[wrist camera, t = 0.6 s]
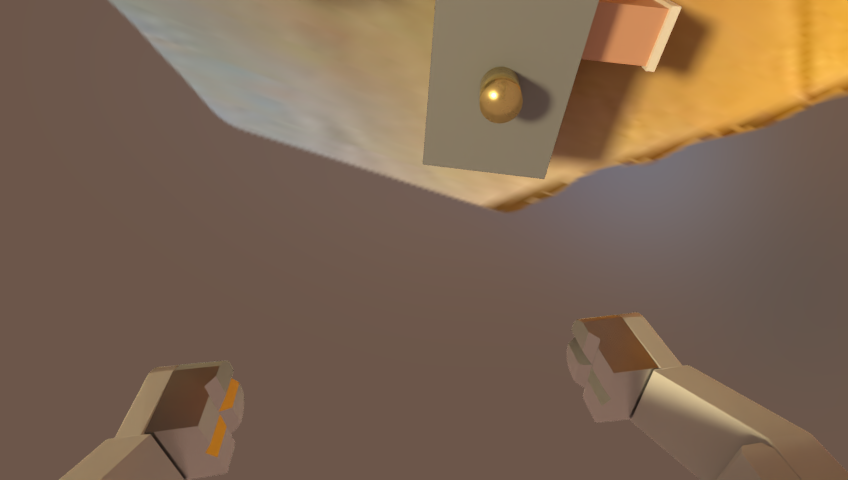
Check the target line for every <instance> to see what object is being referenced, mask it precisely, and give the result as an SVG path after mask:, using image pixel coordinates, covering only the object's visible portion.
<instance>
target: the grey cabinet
mask: <svg viewBox="0 0 848 480" xmlns="http://www.w3.org/2000/svg"><path fill="white" fill-rule="evenodd" d="M598 2H599V0H436V2H435V15H434V28H433V40H432V53H431V66H430V79H429V91H428V104H427V117H426V129H425V142H424V155H423V164H424V165H432V166H440V167H449V168H457V169H465V170H473V171H482V172H490V173H498V174H506V175H515V176H523V177H531V178H539V179H545V175H546V172H547V169H548V165H549V162H550V159H551V156H552V152H553V149H554V146H555V143H556V139H557V136H558V133H559V129H560V126H561V123H562V120H563V116H564V113H565V110H566V107H567V103H568V100H569V97H570V94H571V90H572V87H573V84H574V80H575V77H576V74H577V71H578V67H579V64H580V61H581V58H582V54H583V51H584V48H585V44H586V41H587V38H588V35H589V31H590V28H591V25H592V22H593V18H594V15H595V12H596V8H597V5H598ZM495 67H507V68H510V69H511V70H513V71H514V72H515V73H516V74H517V76H518V78H519V83H520V88H521V93H522V99H523V104H522V108H521V110H520V112H519V114H518V115H517V116H516V117H515V118H514V119H512V120H511V121H509V122H506V123H493V122H491V121H489V120H487V119H486V118H485V117H484V116H483V114H482V113H481V110H480V104H479V103H480V83H481V80H482V78H483V76H484V75H485V74H486V73H487V72H488V71H489V70H491V69H493V68H495Z"/></svg>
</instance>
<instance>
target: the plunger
mask: <svg viewBox="0 0 848 480" xmlns="http://www.w3.org/2000/svg"><path fill="white" fill-rule="evenodd" d="M681 8H682V7H681V6H679V5H678V4H676V3H674V2H672V1H670V0H599V2H598V5H597V8H596V12H595V15H594V18H593V22H592V25H591V28H590V31H589V35H588V38H587V41H586V44H585V48H584V51H583V54H582V58H581V59H583V60H592V61H602V62H611V63H620V64H629V65H638V66H641V67H642V68H643V69H644V70H645V71H651V72H654V71H655V69H656V67H657V64H658V62H659V60H660V57H661V55H662V53H663V50H664V48H665V46H666V43H667V41H668V38H669V36H670V34H671V31H672V29H673V27H674V24H675V22H676V20H677V17H678V15H679V13H680V10H681Z"/></svg>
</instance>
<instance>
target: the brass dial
mask: <svg viewBox="0 0 848 480" xmlns="http://www.w3.org/2000/svg"><path fill="white" fill-rule="evenodd" d="M479 104H480V110H481V113H482V114H483V116H484V117H485V118H486V119H487V120H489V121H491V122H493V123H506V122H509V121H511V120H512V119H514V118H515V117H516V116H517V115H518V114H519V112H520V110H521V108H522V104H523V99H522V93H521V88H520V83H519V78H518V76H517V74H516V73H515V72H514V71H513V70H511V69H510V68H507V67H495V68H493V69H491V70H489V71H488V72H487V73H486V74H485V75H484V76H483V78H482V80H481V83H480V103H479Z"/></svg>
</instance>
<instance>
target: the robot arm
mask: <svg viewBox="0 0 848 480" xmlns="http://www.w3.org/2000/svg"><path fill="white" fill-rule="evenodd" d="M571 331H572V333H573V335H574V336H575V337H574V338H573V339H572V340H571V341H570V342H569V343H568V347H567V352H566V354H567V364H568V367H569V370H570V373H571V375H572V377H573V379H574V381H575V382H576V383H578V384H579V385H580V386H582V387H583V388H585V390H584V394H583V399H584V401H585V403H586V405H587V407H588V409H589V411H590V413H591V415H592V417H593V419H594V421H595V423H600V422H609V421H617V420H628V419H631V422H632V423H633V424H635V425H636V426H637V427H638V428H639V429H641V430H642V431H643V432H644V433H645V434H647V435H648V436H649V437H650V438H651V439H652V440H654V441H655V442H656V443H657V444H658V445H660V446H661V447H662V448H663V449H664V450H665V451H667V452H668V453H669V454H670V455H672V456H673V457H674V458H675V459H676V460H677V461H679V462H680V463H681V464H682V465H684V467H686V468H687V469H688V470H689V471H690V472H692V473H693V474H694V475H695V476H696V477H698V478H699V479H700V480H848V472H847V471H846V470H845V469H844V468H843V467H842V466H841V465H840V464H839V463H838V462H837V461H836V460H835V459H834V457H833V456H832V455H831V454H830V453H829V452H828V451H827V450H826V449H825V448H824V447H823V446H822V445H821V444H820V443H819V442H818V441H817V440H816V439H815V438H814V436H813V435H812V434H810V433H809V432H807V431H805V430H803V429H801V428H800V427H798V426H796V425H794V424H792V423H791V422H789V421H787V420H786V419H784V418H782V417H780V416H778V415H777V414H775V413H773V412H771V411H769V410H768V409H766V408H764V407H762V406H761V405H759V404H757V403H755V402H753V401H752V400H750V399H748V398H746V397H745V396H743V395H741V394H739V393H737V392H736V391H734V390H732V389H730V388H728V387H727V386H725V385H723V384H721V383H720V382H718V381H716V380H714V379H712V378H711V377H709V376H707V375H705V374H704V373H702V372H700V371H698V370H696V369H695V368H693V367H691V366H689V365H685V366H682V365H681V363H680V362H679V361H678V360H677V358H676V357H675V356H674V354H672V352H671V351H670V350H669V348H668V347H667V346H666V344H665V343H664V342H663V341H662V339H661V338H660V337H659V336H658V334H657V333H656V332H655V331H654V329H653V328H652V327H651V326H650V324H648V322H647V321H646V319H645V318H644V317H643V316H642V315H641V314H639V313H637V312H636V313H628V314H620V315H609V316H601V317H594V318H585V319H577V320H576V321H575V322H574V323H573V327H572V330H571ZM233 371H234V370H233V368H232V366H231V364H230V363H229V361H216V362H205V363H194V364H183V365H175V366H165V367H156V368H154V369H153V370H152V371H151V372H150V373H149V374H148V376H147V378H146V379H145V381H144V383H143V385H142V387H141V389H140V391H139V393H138V395H137V396H136V399H135V400H134V402H133V404H132V406H131V408H130V410H129V412H128V414H127V415H126V417H125V419H124V421H123V423H122V425H121V427H120V429H119V431H118V432H117V435H116V436H115V438H112V439H107V440H106V441H104V442H103V443H102V444H101V445H100V446H98V447H97V448H96V449H95V450H94V451H93V452H91V453H90V454H89V455H88V456H87V457H85V458H84V459H83V460H82V461H81V462H79V463H78V464H77V465H76V466H75V467H74V468H72V469H71V470H70V471H69V472H68V473H66V474H65V475H64V476H63V477H62V478H61V479H59V480H190V479H196V478H202V477H209V476H215V475H220V474H227V472H228V468H229V465H230V461H231V458H232V454H233V450H234V447H235V442H234V440H233V438H232V436H231V434H232V433H233V432H234V431H235V430H236V428H237V427H238V426H239V425H240V424H241V420H242V416H243V412H244V395H243V390H242V388H241V385H240V383H239V382H237V381H235V380H234V379H232V378H231V377H232V374H233Z"/></svg>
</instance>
